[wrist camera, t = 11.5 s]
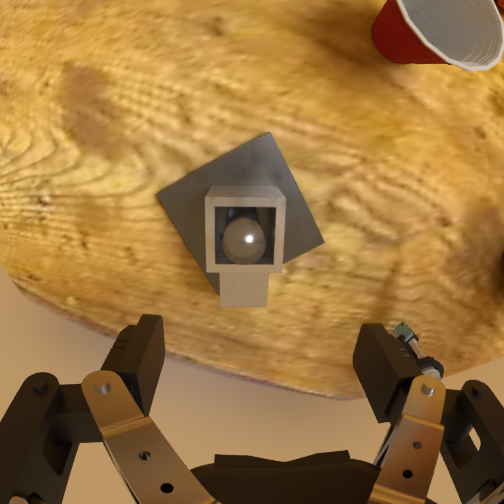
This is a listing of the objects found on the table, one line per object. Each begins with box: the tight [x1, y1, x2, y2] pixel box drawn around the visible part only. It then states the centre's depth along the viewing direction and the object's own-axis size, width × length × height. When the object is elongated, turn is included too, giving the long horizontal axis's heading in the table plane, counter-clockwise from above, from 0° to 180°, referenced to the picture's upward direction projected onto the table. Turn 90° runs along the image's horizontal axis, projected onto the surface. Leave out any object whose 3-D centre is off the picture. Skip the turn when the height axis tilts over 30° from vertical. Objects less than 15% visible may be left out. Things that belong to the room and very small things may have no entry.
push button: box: [388, 322, 444, 381], centre depth 32 cm, size 7×5×10 cm
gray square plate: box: [156, 132, 325, 295], centre depth 27 cm, size 12×12×9 cm
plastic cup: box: [372, 0, 504, 71], centre depth 19 cm, size 11×11×12 cm
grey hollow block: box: [205, 186, 286, 307], centre depth 28 cm, size 10×6×6 cm, turn 179°
